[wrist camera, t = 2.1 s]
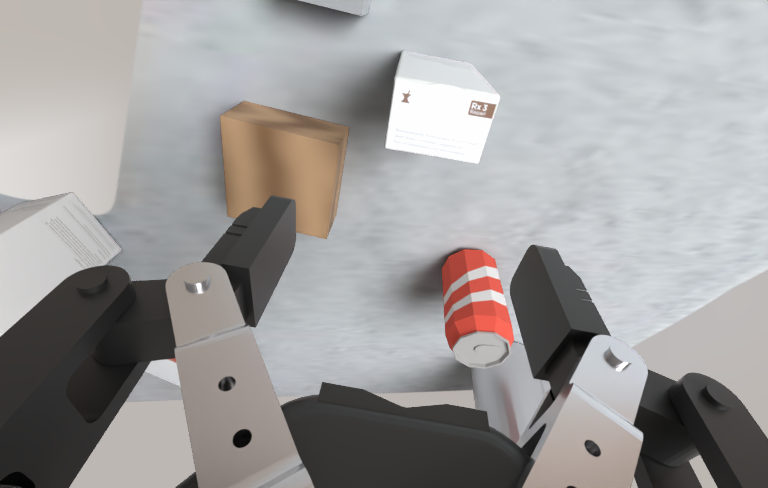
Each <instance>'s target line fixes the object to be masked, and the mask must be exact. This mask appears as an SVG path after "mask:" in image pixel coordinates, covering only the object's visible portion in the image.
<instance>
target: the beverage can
mask: <svg viewBox="0 0 768 488" xmlns="http://www.w3.org/2000/svg"><path fill="white" fill-rule="evenodd" d="M442 282H443V300H444V318H445V335H446V338H447V341H448V344H449V347H450V348H451V350H452V351H453V352H454V355H455V358H456V360H457V361H459V362H461V363H462V364H464V365H466V366H468V367H474V368H489V367H493V366H496V365H499V364H502V363H503V362H504V361H505V360H506V359H507V358H508V357H509V356H510V355H511V350H510V347H511V345H512V343H513V341H514V337H513V330H512V325H511V321H510V317H509V313H508V309H507V305H506V301H505V298H504V294H503V290H502V286H501V282H500V278H499V274H498V270H497V266H496V262H495V259H494V258H492V257H491V256H489V255H488V254H487V253H485V252H484V251H482V250H468V249H464V250H462V251H459V252H457V253H455V254H453V255H451V256H449V257H448V259H447V260H446V262H445V264H444V266H443V267H442Z"/></svg>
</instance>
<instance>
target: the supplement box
mask: <svg viewBox="0 0 768 488" xmlns="http://www.w3.org/2000/svg"><path fill="white" fill-rule="evenodd" d="M121 251H122V249H121V248H120V246H119V245H118V244H117V243H116V242H115V241H114V239H113V238H112V237H111V236H110V235H109V234H108V232H107V231H106V230H105V229H104V228H103V227H102V225H101V224H100V223H99V222H98V221H97V220H96V218H95V217H94V216H93V215H92V214H91V212H90V211H89V210H88V209H87V208H86V207H85V205H84V204H83V203H82V202H81V201H80V200H79V198H78V197H77V196H76V195H75V194H74V193H73V192H70V193H65V194H60V195H56V196H51V197H46V198H42V199H37V200H32V201H28V202H23V203H20V204H18V205H16V206H14V207H12V208H10V209H8V210H7V211H5V212H3V213H1V214H0V336H2V335H3V334H4V333H5V332H6V331H7V330H8V329H9V328H11V327H12V326H13V325H14V324H15V323H16V322H17V321H18V320H19V319H21V318H22V317H23V316H24V315H25V314H26V313H27V312H28V311H30V310H31V309H32V308H33V307H34V306H35V305H36V304H37V303H39V302H40V301H41V300H42V299H43V298H44V297H45V296H46V295H48V294H49V293H50V292H51V291H52V290H53V289H54V288H55V287H56V286H58V285H59V284H60V283H61V282H62V281H63V280H65V279H66V278H67V277H69V276H70V275H72V274H74V273H76V272H78V271H81V270H84V269H87V268H91V267H95V266H104V265H106V264H107V263H108V262H109V261H110V260H111V259H112V258H114V257H115V256H116V255H117V254H118V253H120V252H121Z"/></svg>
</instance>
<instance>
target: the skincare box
mask: <svg viewBox="0 0 768 488" xmlns="http://www.w3.org/2000/svg"><path fill="white" fill-rule="evenodd" d="M499 100H500V96H499V94H498V93H497V92H496V91H495V90H494V89H493V88H492V87H491V86H490V84H489V83H488V82H487V81H486V80H485V79H484V78H483V77H482V75H481V74H480V73H479V72H478V71H477V70H476V69H475V67H474V66H473V65H472V64H471V63H467V62H462V61H457V60H452V59H447V58H441V57H436V56H431V55H426V54H421V53H415V52H410V51H404V50H403V51H402V52H401V56H400V60H399V63H398V67H397V70H396V75H395V78H394V86H393V93H392V101H391V108H390V115H389V121H388V127H387V133H386V138H385V145H384V146H385V148H386V149H391V150H397V151H404V152H410V153H416V154H422V155H428V156H434V157H440V158H446V159H452V160H458V161H464V162H470V163H475V164H478V163H479V160H480V157H481V154H482V151H483V148H484V145H485V141H486V138H487V135H488V132H489V129H490V126H491V123H492V121H493V118H494V115H495V112H496V109H497V106H498V103H499Z"/></svg>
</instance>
